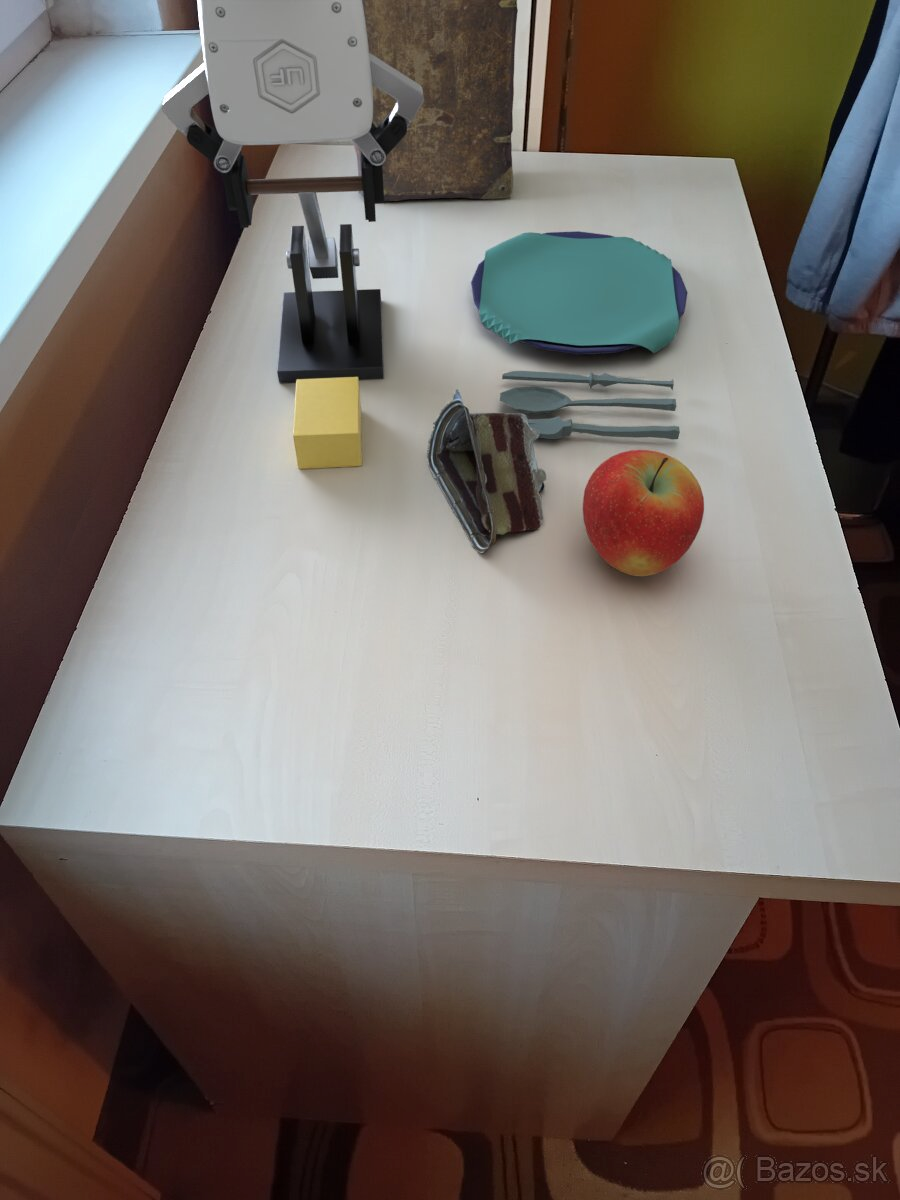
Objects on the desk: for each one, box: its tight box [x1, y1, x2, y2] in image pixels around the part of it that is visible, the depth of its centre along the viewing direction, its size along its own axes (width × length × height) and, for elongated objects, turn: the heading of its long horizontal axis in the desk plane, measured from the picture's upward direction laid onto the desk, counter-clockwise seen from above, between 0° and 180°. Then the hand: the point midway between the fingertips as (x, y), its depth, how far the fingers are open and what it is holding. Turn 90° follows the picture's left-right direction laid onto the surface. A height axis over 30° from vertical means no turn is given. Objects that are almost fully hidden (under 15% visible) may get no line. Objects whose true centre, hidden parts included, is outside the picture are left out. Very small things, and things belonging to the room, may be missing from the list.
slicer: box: [276, 223, 385, 384], centre depth 83 cm, size 12×9×10 cm
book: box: [353, 0, 519, 202], centre depth 95 cm, size 17×7×25 cm, turn 90°
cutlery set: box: [470, 230, 688, 440], centre depth 86 cm, size 20×30×2 cm, turn 175°
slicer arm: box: [246, 175, 363, 280], centre depth 74 cm, size 16×8×2 cm
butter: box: [292, 377, 363, 470], centre depth 77 cm, size 5×7×3 cm
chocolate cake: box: [426, 388, 547, 554], centre depth 73 cm, size 10×7×12 cm
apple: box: [582, 449, 705, 577], centre depth 66 cm, size 8×8×10 cm
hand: (309, 214), depth 68 cm, fingers closed on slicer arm, 8 cm apart
